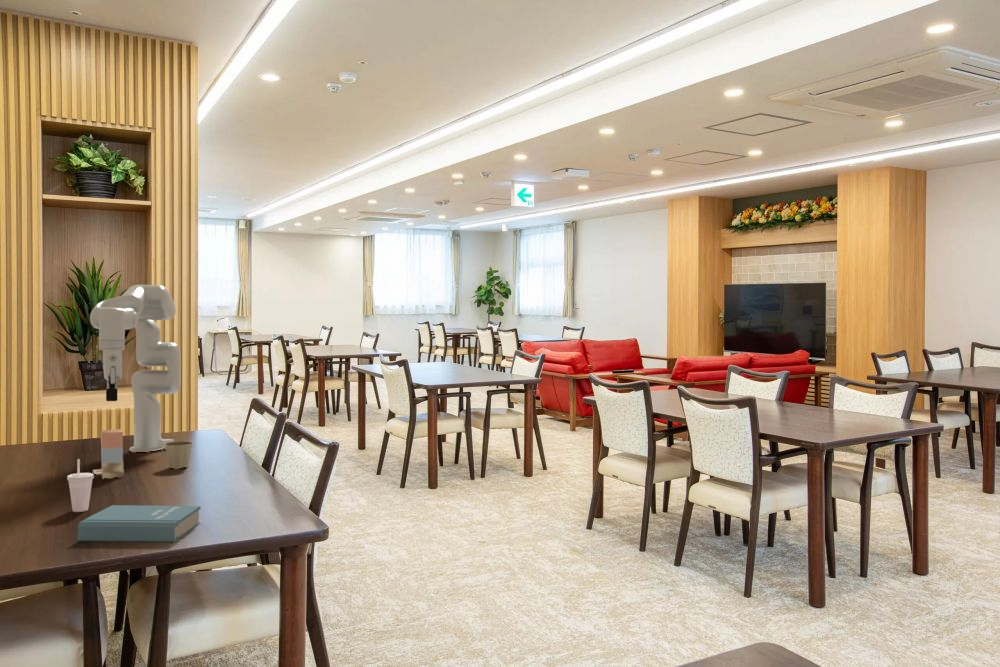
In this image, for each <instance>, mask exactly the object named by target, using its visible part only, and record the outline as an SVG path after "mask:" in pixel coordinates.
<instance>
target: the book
mask: <svg viewBox="0 0 1000 667" xmlns="http://www.w3.org/2000/svg"><path fill="white" fill-rule="evenodd" d="M199 510H201V506H200V505H135V504H133V505H131V504H130V505H129V504H127V505H126V504H124V505H123V504H121V505H119V504H117V505H116V504H112V505H110V506H108V507H106V508H104V509H102V510H100V511H98V512H97V513H95V514H92V515H90V516H88V517H86V518H84V519H83V520H81V521H79V523H78V525H77V541H78V542H110V543H111V542H114V543H117V542H119V543H122V542H124V543H125V542H128V543H130V542H131V543H132V542H133V543H134V542H135V543H137V542H138V543H175V542H177V541H179V540H180V539H182V537H184V536H185V535H187V534H188V533H189V532H191V531H192V530H193V529H195V528H197V527H198V526H199V525H200V524H201V522H199V521H200V520H199V519H200V518H199V517H200V516H199V515H200V514H199V512H200V511H199Z"/></svg>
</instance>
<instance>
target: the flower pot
mask: <svg viewBox="0 0 1000 667" xmlns="http://www.w3.org/2000/svg"><path fill="white" fill-rule="evenodd" d="M193 444H194V442H193V441H189V440H178V441H177V440H176V441H175V440H174V442H168V443H165V444H164V446H165V449H164V450H165V452H166V456H167V463H168V464H167V465H168V468H169V467H170V468H178V467H184V466H188V467H189V463H190V456H191V449H192V447H193ZM170 468H169V469H170Z"/></svg>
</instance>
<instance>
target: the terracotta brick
mask: <svg viewBox="0 0 1000 667" xmlns="http://www.w3.org/2000/svg"><path fill="white" fill-rule="evenodd" d="M123 437H124V432H123V430H122V428H120V429H103V430H100V446H101V447H102V448H115V447H123V445H124V444H123V443H124V441H123V440H124V438H123ZM123 448H124V447H123Z"/></svg>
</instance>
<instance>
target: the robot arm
mask: <svg viewBox="0 0 1000 667" xmlns="http://www.w3.org/2000/svg"><path fill="white" fill-rule="evenodd" d="M175 314H176V304H175V301H174V299H173V297H172V294H170V292H169V290H168V289H167V288H166V287H165V286H163V285H161V284H134V285H131V286H130V287H128V288H127V289H126V290H125V292H124V293H122V295H119V296H115V297H112V298H108V299H104V300H102V301H100V302H98V303H96V304H95V306H94V307H93V308H92V309H91V312H90V314H89V315H90V316H89V321H90V324H91V326H92V327H93V328H94V329H96V330H98V350H99V351H102V369H103V377H104V379H105V380H106V389H105V393H106V394H105V400H106V402H117V401H118V388H117V387H118V380H120V381H121V380H122V379H123V364H122V363H123V357H122V351H124V350H125V349H126V346H125V341H126V340H125V339H126V336H125V334H126V330H128V331H129V330H133V329H135V332H136V333H135V334H136V337H135V338H136V340H135V341H136V343H135V346H136V347H135V353H136V354H135V356H136V357H135V358H136V362H137V364H138V365H139V366H143V367H166V368H167V369H142V370H137V371H135V372H134V373H133V374H132V376H131V380H130V381H131V387H132V393H133V446H130V447H129V452H130V451H131V453H136V452H147V453H150V452H149V451H156V450H160V449H163V448H165V446H164V444H165V443H168V442H175V440H174V439H173V438H171V439H169V438H167V439H164V438H162V436H161V434H162V432H161V431H162V430H161V429H162V426H161V425H162V424H161V423H162V421H161V420H162V406H161V403H160V401H159V400H158V398H157V396H155V395H173V394H174V395H175V394H177V393H178V392H179V391H180V389H181V380H182V379H181V378H182V376H181V375H182V374H181V373H182V369H181V368H182V367H181V366H182V365H181V364H182V363H181V362H182V359H181V358H182V357H181V354H182V353H181V349H180V346H179V344H177V343H175V342H171V341H169V342H168V341H167V342H165V341H163V342H162V341H161V329H160V326H159V325H158V324H157V322H155V321H170V320H172V319H173V318H174V317H175Z"/></svg>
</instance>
